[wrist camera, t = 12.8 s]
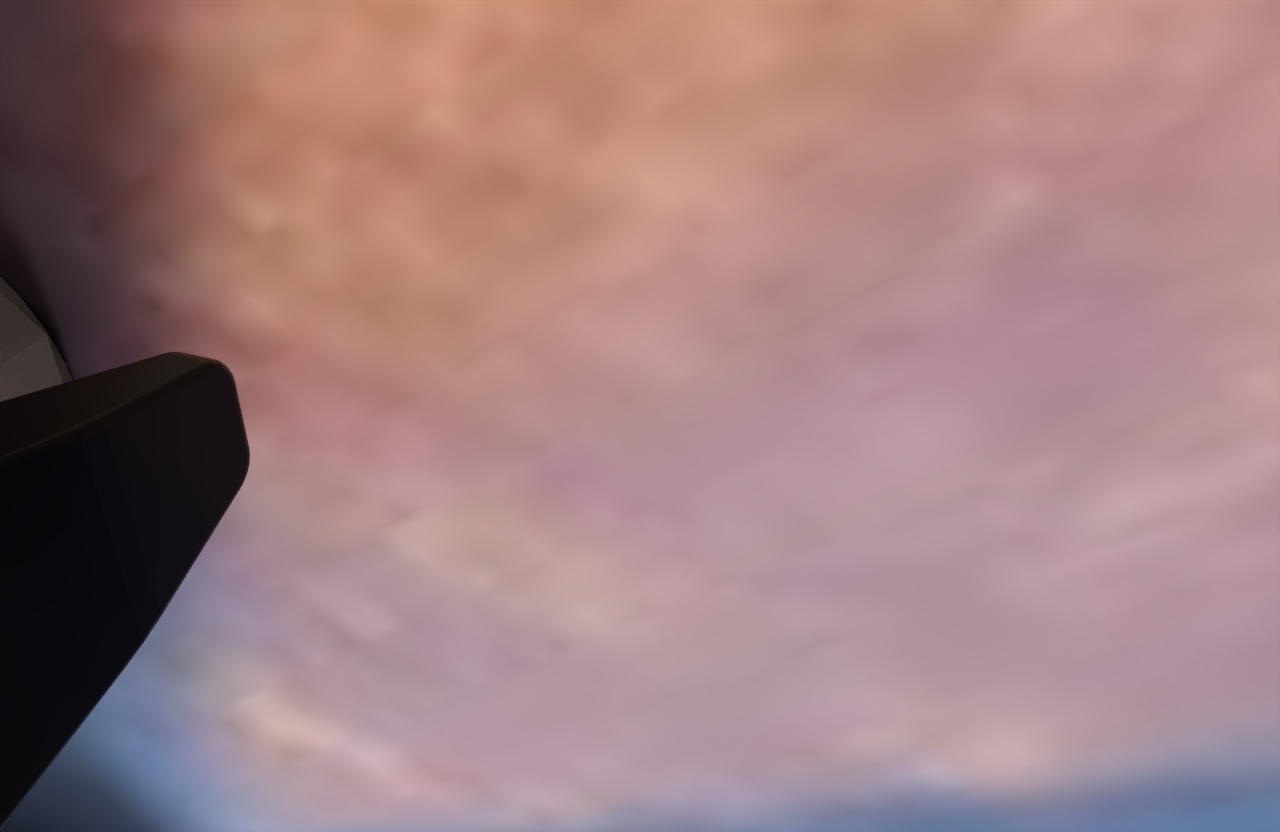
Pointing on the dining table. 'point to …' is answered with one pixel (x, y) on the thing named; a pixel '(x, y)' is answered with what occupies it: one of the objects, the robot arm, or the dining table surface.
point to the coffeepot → (25, 350)
